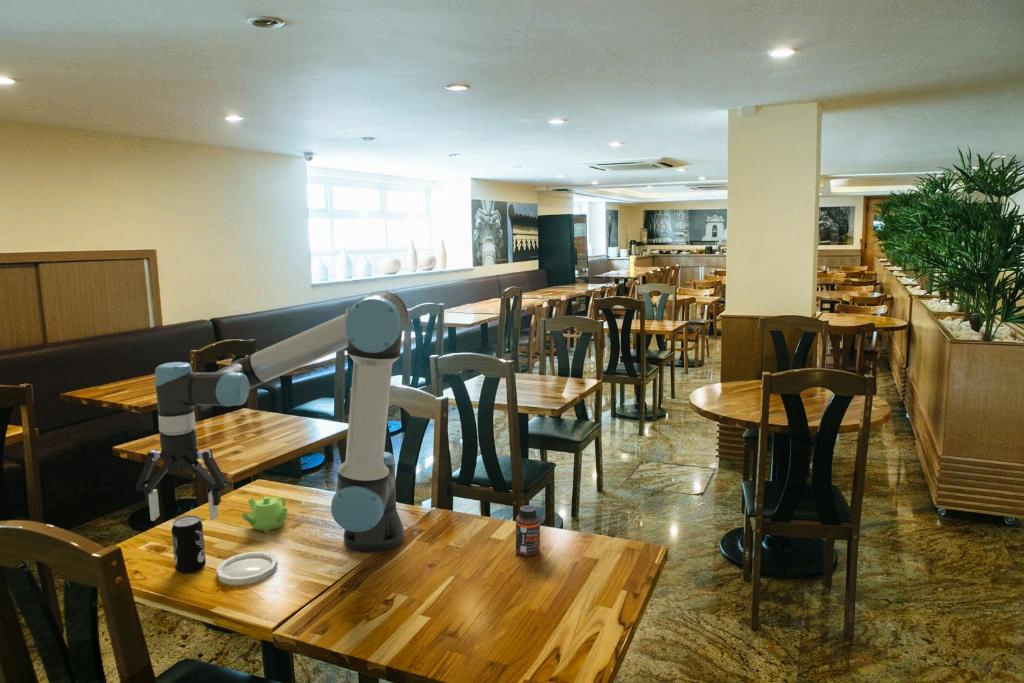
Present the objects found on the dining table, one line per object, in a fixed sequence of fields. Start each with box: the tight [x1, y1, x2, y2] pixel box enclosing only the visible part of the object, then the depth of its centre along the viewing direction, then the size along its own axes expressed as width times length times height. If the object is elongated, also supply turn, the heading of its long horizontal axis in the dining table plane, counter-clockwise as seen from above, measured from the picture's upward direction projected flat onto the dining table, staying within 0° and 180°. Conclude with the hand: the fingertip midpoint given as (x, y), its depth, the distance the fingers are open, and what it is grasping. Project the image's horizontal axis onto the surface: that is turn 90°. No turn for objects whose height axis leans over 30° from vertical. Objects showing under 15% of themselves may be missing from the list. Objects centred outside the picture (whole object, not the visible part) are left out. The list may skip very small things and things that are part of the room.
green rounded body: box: [241, 496, 289, 534], centre depth 185 cm, size 11×12×8 cm
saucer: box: [216, 551, 279, 587], centre depth 162 cm, size 13×13×2 cm
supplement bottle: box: [515, 504, 541, 557], centre depth 170 cm, size 6×6×11 cm
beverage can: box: [170, 515, 207, 575], centre depth 163 cm, size 7×7×12 cm
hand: (184, 518), depth 162 cm, fingers open, 13 cm apart
